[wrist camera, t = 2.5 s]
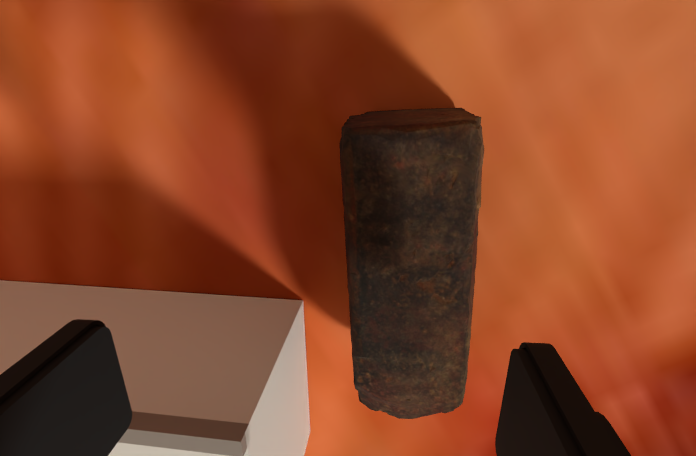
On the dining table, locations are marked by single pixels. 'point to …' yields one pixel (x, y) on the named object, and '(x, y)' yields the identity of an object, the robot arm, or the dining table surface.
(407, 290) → the brick
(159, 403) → the step
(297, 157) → the dining table surface
